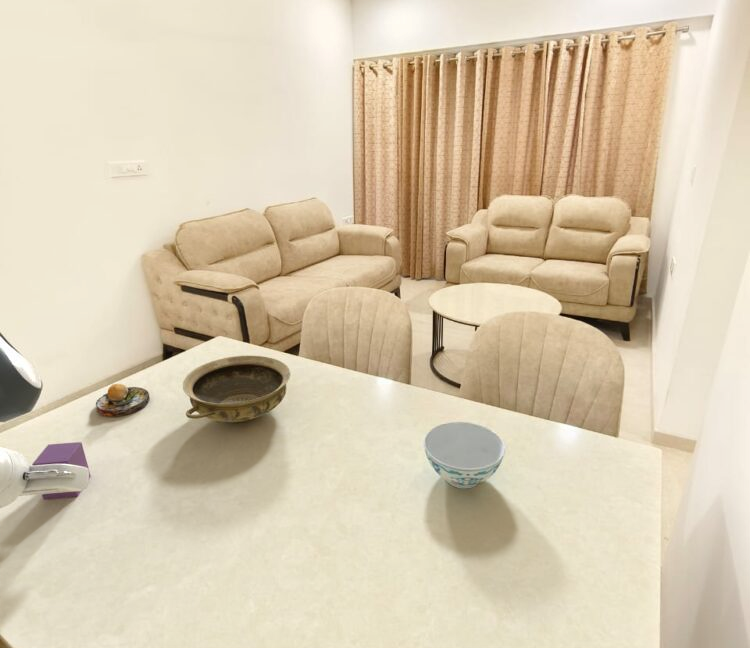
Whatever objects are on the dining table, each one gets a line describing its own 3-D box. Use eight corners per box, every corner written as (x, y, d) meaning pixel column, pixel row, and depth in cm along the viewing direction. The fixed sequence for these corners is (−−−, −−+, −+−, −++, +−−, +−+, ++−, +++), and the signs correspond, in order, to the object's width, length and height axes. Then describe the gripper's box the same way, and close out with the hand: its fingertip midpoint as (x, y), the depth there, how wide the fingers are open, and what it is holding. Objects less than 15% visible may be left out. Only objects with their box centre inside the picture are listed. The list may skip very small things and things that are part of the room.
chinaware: (411, 490, 93) (412, 456, 90) (437, 446, 106) (438, 415, 103) (491, 514, 87) (495, 477, 84) (508, 464, 100) (512, 431, 97)
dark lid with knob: (159, 397, 127) (154, 370, 124) (123, 421, 117) (117, 393, 114) (123, 389, 131) (117, 364, 128) (85, 412, 121) (77, 385, 118)
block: (77, 496, 93) (67, 461, 90) (43, 499, 92) (32, 464, 89) (90, 476, 98) (81, 441, 95) (58, 478, 98) (48, 444, 95)
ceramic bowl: (233, 463, 101) (227, 421, 98) (155, 431, 113) (147, 392, 109) (320, 398, 126) (318, 362, 122) (249, 376, 137) (245, 343, 133)
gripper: (69, 450, 76) (106, 463, 89) (-77, 462, 74) (-18, 474, 87) (62, 493, 74) (102, 501, 86) (-89, 507, 72) (-26, 512, 84)
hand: (41, 487), depth 87 cm, fingers closed
